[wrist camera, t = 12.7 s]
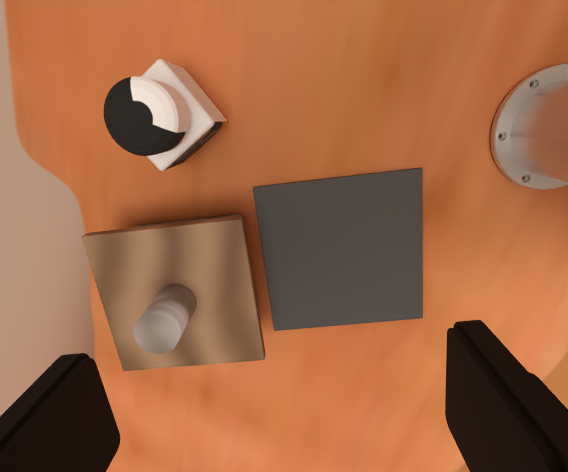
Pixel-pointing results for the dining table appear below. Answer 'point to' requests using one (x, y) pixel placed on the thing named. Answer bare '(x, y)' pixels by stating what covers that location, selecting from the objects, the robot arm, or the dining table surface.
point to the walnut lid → (178, 293)
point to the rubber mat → (343, 249)
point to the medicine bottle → (161, 115)
